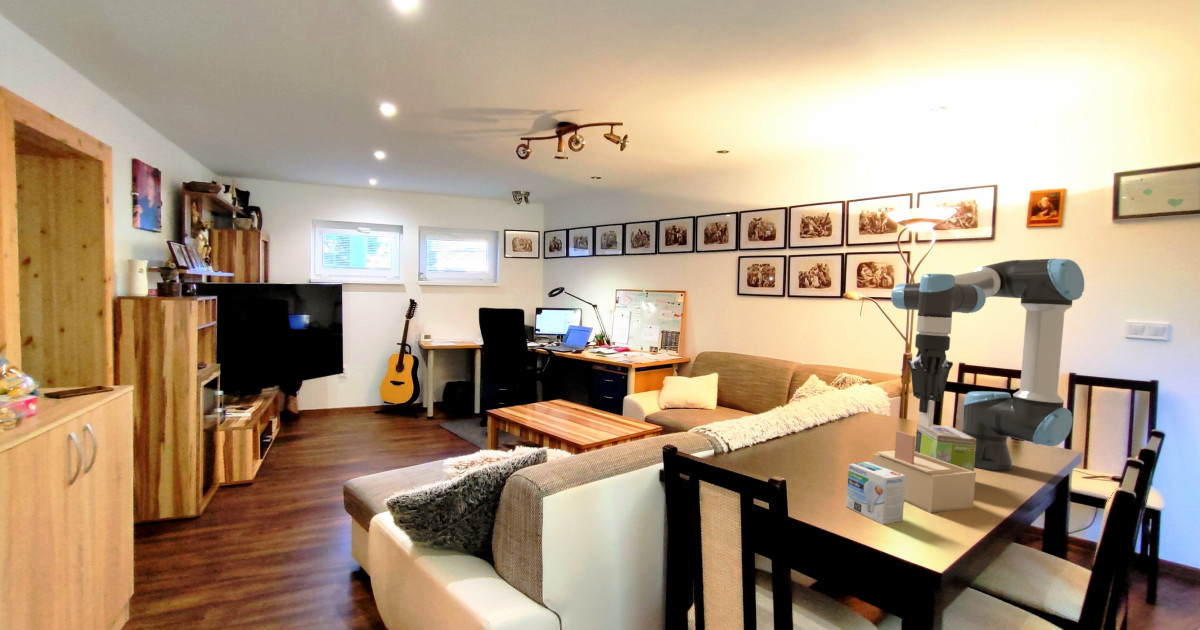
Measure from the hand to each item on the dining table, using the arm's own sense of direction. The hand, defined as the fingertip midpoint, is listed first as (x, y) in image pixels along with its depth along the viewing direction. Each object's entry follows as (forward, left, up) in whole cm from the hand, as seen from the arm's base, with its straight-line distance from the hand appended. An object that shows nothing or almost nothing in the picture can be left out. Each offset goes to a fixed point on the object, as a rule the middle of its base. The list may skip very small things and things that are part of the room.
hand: (925, 425), depth 138 cm
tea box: (-17, -8, -19) cm, 27 cm away
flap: (+4, 0, -9) cm, 10 cm away
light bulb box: (+22, +6, -19) cm, 30 cm away
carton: (0, 0, -19) cm, 19 cm away
